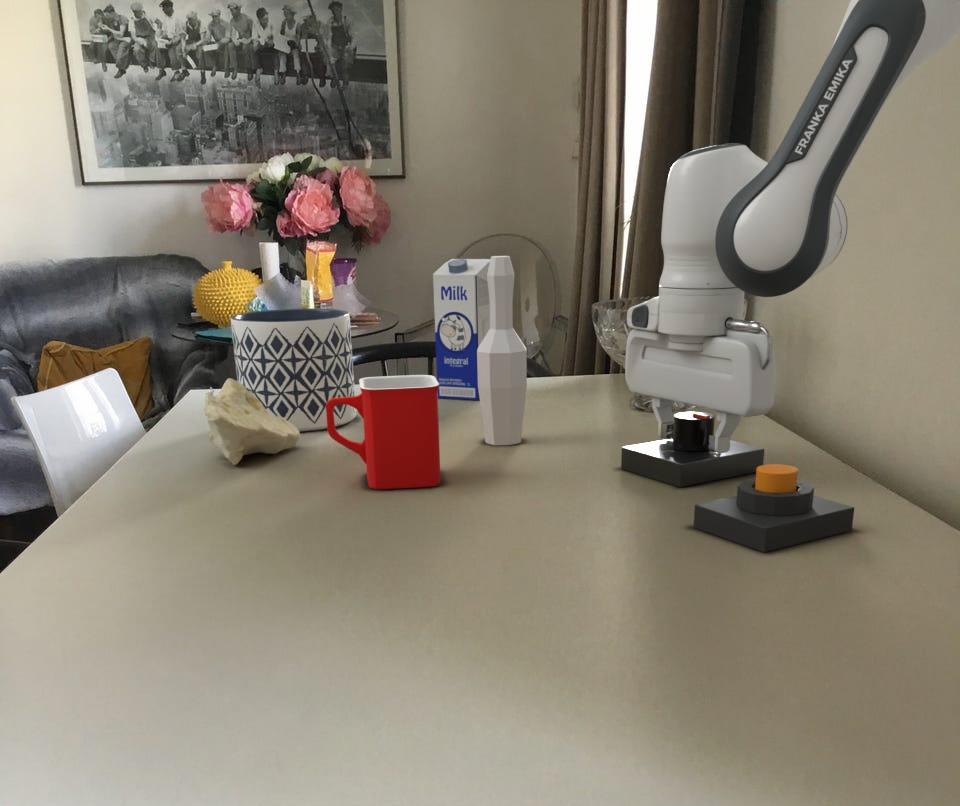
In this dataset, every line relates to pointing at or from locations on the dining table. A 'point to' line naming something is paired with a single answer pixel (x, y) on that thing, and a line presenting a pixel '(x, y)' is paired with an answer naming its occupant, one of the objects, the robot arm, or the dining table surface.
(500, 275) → the low poly bottle
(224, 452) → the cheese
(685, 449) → the temp dial
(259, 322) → the planter
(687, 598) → the dining table surface
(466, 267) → the milk carton
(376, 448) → the mug
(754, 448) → the dial panel
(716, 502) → the button base
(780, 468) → the button
